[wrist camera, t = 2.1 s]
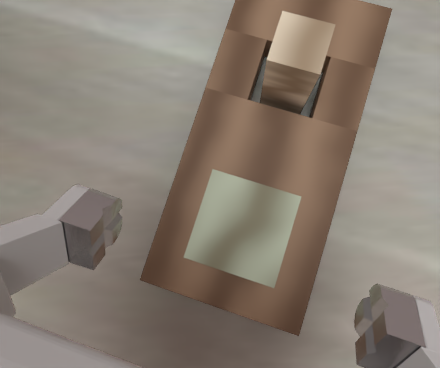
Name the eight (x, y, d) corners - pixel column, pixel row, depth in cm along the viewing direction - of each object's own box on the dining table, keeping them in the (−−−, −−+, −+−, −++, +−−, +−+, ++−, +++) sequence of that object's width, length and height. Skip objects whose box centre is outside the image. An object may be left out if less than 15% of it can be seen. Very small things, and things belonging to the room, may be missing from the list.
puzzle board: (149, 275, 32) (139, 280, 29) (244, -7, 35) (245, -30, 32) (292, 325, 31) (299, 336, 27) (378, 28, 34) (393, 7, 31)
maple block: (259, 104, 33) (266, 59, 25) (271, 68, 34) (282, 10, 25) (298, 116, 33) (320, 74, 24) (310, 78, 33) (335, 24, 25)
